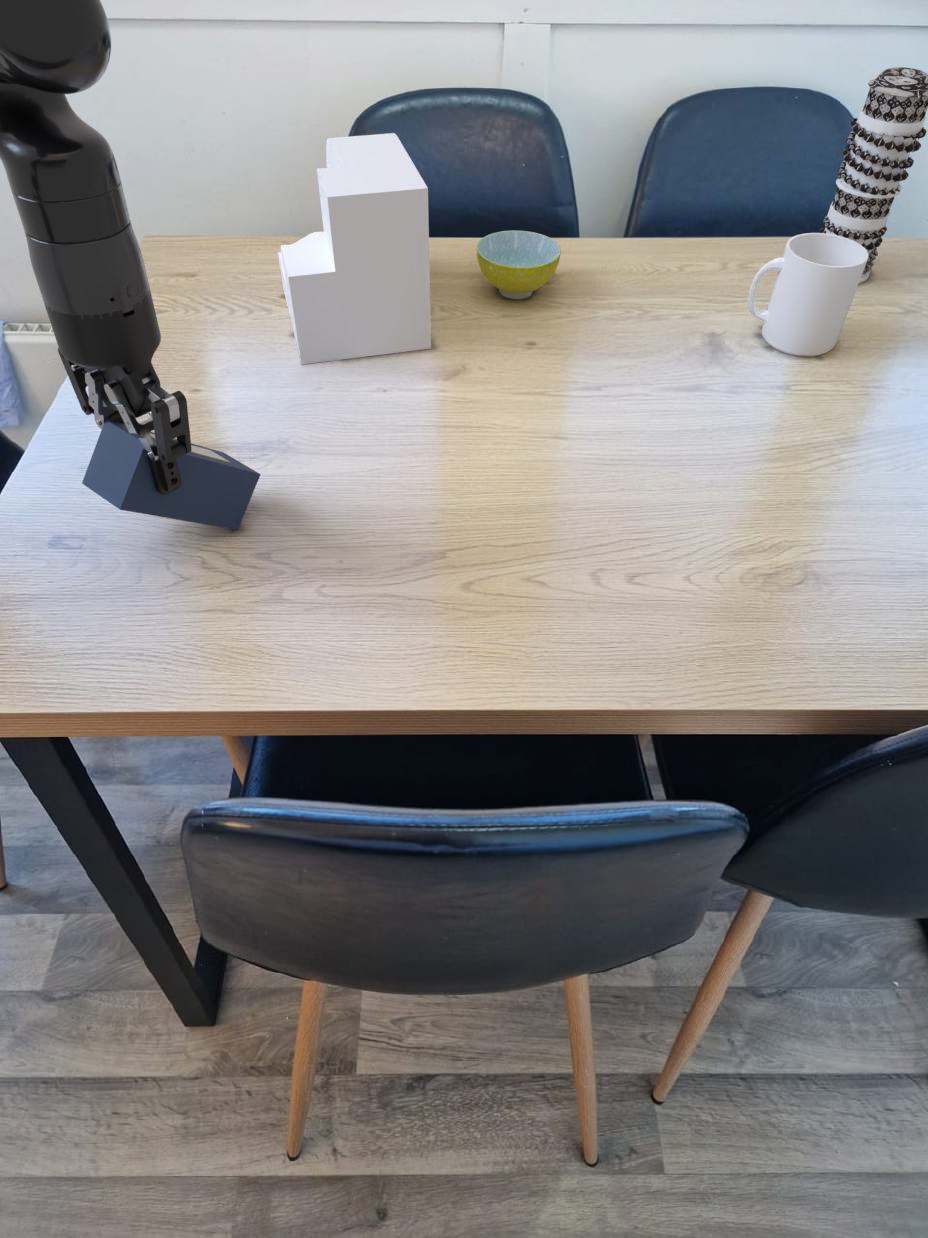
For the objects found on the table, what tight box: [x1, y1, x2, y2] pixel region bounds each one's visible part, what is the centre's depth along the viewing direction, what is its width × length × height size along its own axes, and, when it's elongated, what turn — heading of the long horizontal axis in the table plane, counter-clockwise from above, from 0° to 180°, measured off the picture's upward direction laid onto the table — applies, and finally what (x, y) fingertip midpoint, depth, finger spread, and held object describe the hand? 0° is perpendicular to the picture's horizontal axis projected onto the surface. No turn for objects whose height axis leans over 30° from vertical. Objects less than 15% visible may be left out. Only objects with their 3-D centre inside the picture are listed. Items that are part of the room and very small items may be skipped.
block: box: [277, 132, 432, 365], centre depth 105 cm, size 25×16×19 cm, turn 15°
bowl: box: [476, 230, 562, 300], centre depth 114 cm, size 11×12×6 cm
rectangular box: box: [81, 420, 261, 531], centre depth 76 cm, size 14×6×6 cm
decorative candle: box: [819, 66, 928, 284], centre depth 112 cm, size 9×9×25 cm
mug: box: [747, 232, 868, 358], centre depth 104 cm, size 10×12×12 cm
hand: (148, 474), depth 73 cm, fingers closed on rectangular box, 5 cm apart
